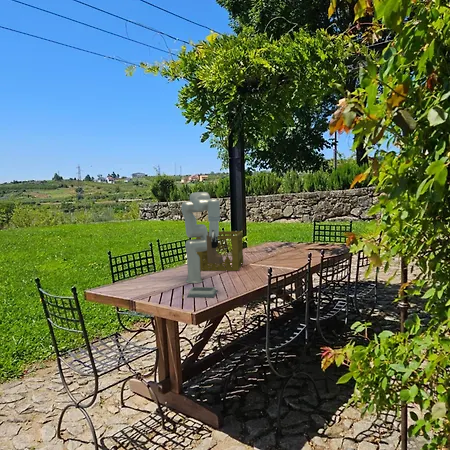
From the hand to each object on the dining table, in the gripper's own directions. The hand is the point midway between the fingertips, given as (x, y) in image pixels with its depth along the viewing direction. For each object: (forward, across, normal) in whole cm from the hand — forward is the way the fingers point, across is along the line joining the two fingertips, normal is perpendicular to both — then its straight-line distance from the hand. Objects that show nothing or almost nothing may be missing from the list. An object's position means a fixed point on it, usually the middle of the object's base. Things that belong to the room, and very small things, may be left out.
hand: (214, 246), depth 253 cm
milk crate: (+32, -92, -11) cm, 98 cm away
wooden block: (+11, 0, 0) cm, 11 cm away
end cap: (+31, +1, -9) cm, 32 cm away
